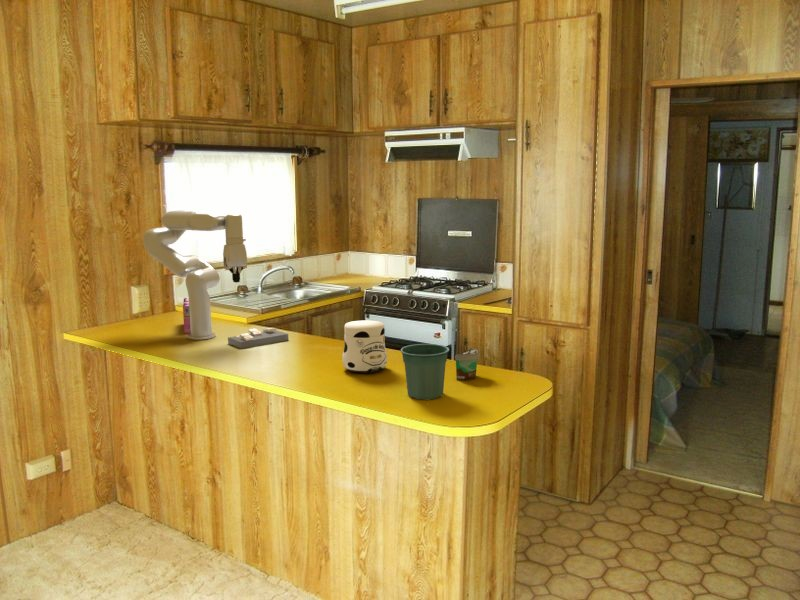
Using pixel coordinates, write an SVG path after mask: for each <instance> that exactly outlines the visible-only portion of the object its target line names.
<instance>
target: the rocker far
mask: <svg viewBox="0 0 800 600" xmlns="http://www.w3.org/2000/svg"><path fill="white" fill-rule="evenodd" d="M275 330H277V328H276V327H267V328H263V329H262V332H265V331H266V332H270V331H275Z"/></svg>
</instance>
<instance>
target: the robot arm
mask: <svg viewBox="0 0 800 600" xmlns="http://www.w3.org/2000/svg"><path fill="white" fill-rule="evenodd" d="M161 224H162V225H163V226H161V227H153V228H150V229H148V230H146V231H144V234H143V236H142V243H143V247H144V250H146V252H147V254H149V256H151V257H152V258H153V259H155V260H156V261H158V262H159V263H161V264H162V265H163V266H164V267H165V268H167V270H169V271H170V272H171V273H172V274H174V275H175V276H177V277H180V278H185V286H186V291H187V294H188V295H187V297H188V299H189V310H190V326H191V328H190V330H191V333H188V334H187V339H189V340H192V341H195V340H196V341H199V340H200V341H201V340H203V341H204V340H209V339H213V338H216V333H215V332H213V327H212V310H211V298H210V294H209V292H208V290H207V289H211V288H215V287H216V286H218V284H219V283H220V281H221V280H220V279H221V278H220V277H221V276H220V274H219V272H218V271H217V269H215V268H214V267H213V266H211V265H210V264H209V263H207V262H206V261H205V260H204V259H203V258H201V257H199V256H197V255H193V254H191V255H182V254H180V253H178V252H177V251H176V250H175V249H173V248H171V247H170V246H168V245H173V244H175V243H176V242H177V241H178V240H179V239H180V238H181V237H182V236H183V235H184V234H185V232H186V231H195V232H196V231H198V232H199V231H201V232H213V231H221V230H224V231H225V244H223V250H222V251H223V252H222V265H223V266H224V267H223V268H224V270H225V271H229V272H230V273H231V274H232V275H231V276H232V282H233V283H235V284H236V283H240V281H241V273H242V271H243V270H244V269H247V268H248V255H247V249H246V245H245V242H246V238H245V237H244V231H243V217H242V214H241V213H228V212H227V213H226V212H215V213H196V212H195V211H185V210H171V211H167V212H164V213H163V215H162V217H161Z"/></svg>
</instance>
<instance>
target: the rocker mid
mask: <svg viewBox="0 0 800 600" xmlns="http://www.w3.org/2000/svg"><path fill="white" fill-rule="evenodd" d="M248 332H249V334H252V335H254V336H259V335H262V333H261V332H262V331H260V330H259V329H257V328H255V327H254V328H250V329H249V328H248V330H247V333H248Z"/></svg>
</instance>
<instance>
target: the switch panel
mask: <svg viewBox="0 0 800 600" xmlns="http://www.w3.org/2000/svg"><path fill="white" fill-rule="evenodd" d="M260 332H261V333H262V335H259V336H254V335H252V334H251V333H248V334H249V335H251V336H252V337H254V339H253V340H248V341H246V340H244V339H242V338H241V337H240V335H234V336H228V337H227V341H228V342H227V343H228V345H230V346H232V345H233V347H236V348H238V349H240V350H242V349H246V348H247V349H248V348H254V347H259V346H264V344H265V345H268V344H269V343H271V344H276V343H281V342H280V341H282V342H286V340H287V341H289V333H286V332H283V331H280V330H277V329H276V330H275V331H270V332H266V331H265V332H263V331H260ZM275 342H276V343H275ZM269 345H270V344H269Z"/></svg>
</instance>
